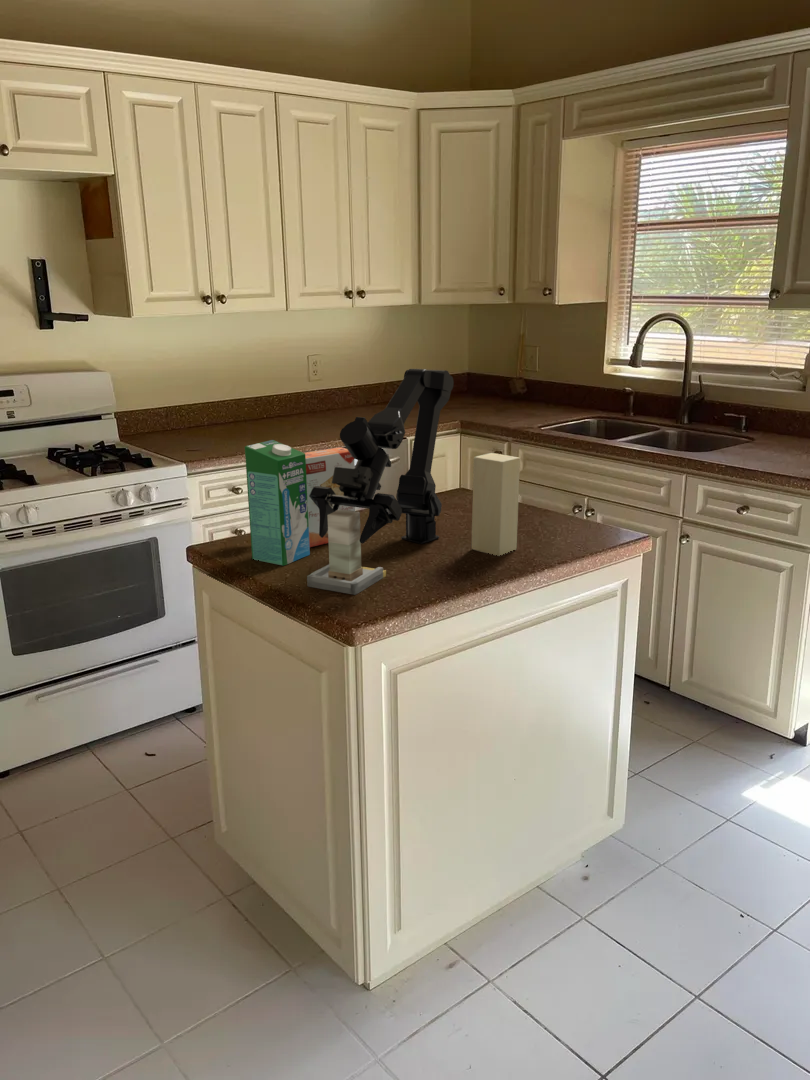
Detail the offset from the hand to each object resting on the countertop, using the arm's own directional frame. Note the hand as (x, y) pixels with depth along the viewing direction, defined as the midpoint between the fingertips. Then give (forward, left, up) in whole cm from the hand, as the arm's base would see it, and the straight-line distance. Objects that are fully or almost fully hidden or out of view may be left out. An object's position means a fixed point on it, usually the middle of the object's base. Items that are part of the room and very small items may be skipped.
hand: (340, 539), depth 168 cm
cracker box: (-25, +18, -9) cm, 32 cm away
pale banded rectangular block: (0, +1, -8) cm, 8 cm away
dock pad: (0, +1, -9) cm, 9 cm away
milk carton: (-23, +3, -9) cm, 25 cm away
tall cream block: (+9, +38, -9) cm, 40 cm away
